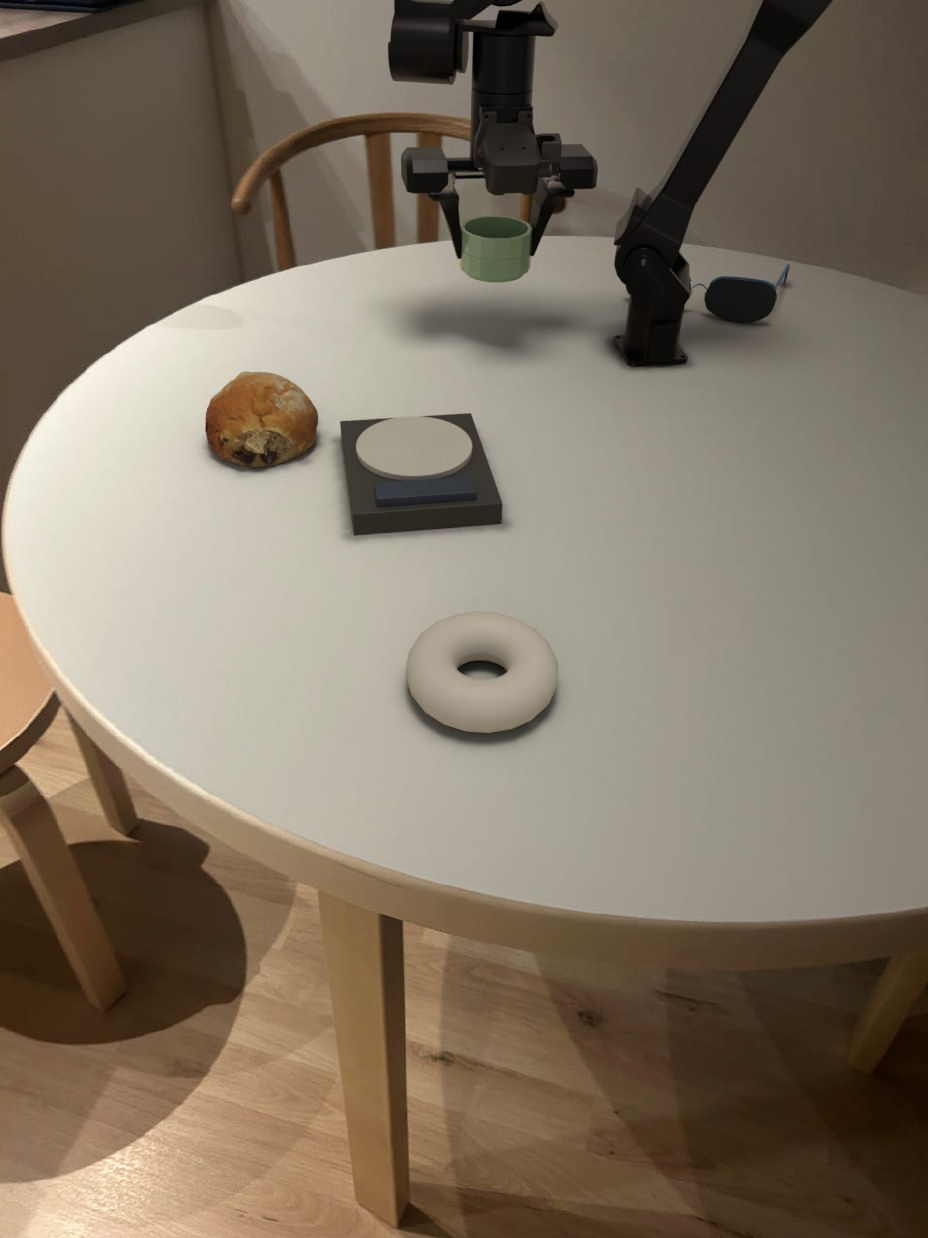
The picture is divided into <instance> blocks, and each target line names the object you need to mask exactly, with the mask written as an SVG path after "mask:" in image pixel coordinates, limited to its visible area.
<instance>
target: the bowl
mask: <svg viewBox="0 0 928 1238" xmlns="http://www.w3.org/2000/svg"><path fill="white" fill-rule="evenodd" d="M460 229H461V240H462V253H461V259H458V265H459V269H460V270H461V271H462V272H464V273H465V275H466V276H468V277H469V278H471V279H473V280H476V281H478V282H479V281H480V282H484V283H508V282H513V281H516V280H519V279H520V278H522V277H523V276H524V275H526V274H527V273H529V270H530V269H531V260H532V256H531V246H532V232H533V228H532V227H531V225H530V222H527V221H525V220H523V219H521V218H518V217H517V218H516V217H512V216H506V215H496V214H495V215H494V214H493V215H480V216H475V217H471V218H468V219H465V220H463V221H462V223H460Z"/></svg>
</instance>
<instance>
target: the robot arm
mask: <svg viewBox="0 0 928 1238" xmlns="http://www.w3.org/2000/svg"><path fill="white" fill-rule="evenodd" d="M522 1H523V0H393V12H394V13H393V16H392V21H391V28H390V35H389V37H390V40H389V41H388V43H387V59H388V68H389V73H390V77H391V79H392V81H393V82H404V83H419V84H436V85H448V86H449V85H450V86H451V85H452V86H453V85H454V84H455V81H456V78H457V73H458V74H465V73H466V72H467V68H468V62H469V61H468V60H469V52H470V37H469V36H470V35H469V33H472V53H471V54H472V55H471V56H472V58H471V90H470V91H471V93H470V95H471V96H470V130H469V131H470V134H469V135H470V137H469V157H467V156H466V157H464V156H463V157H446V155H445V152H444V151H443V149H442V146H417V147H416V146H412V147H411V146H408V147H405V148H404V150H403V152H402V153H401V156H400V177H401V180H402V182H403V185H404V187H405V190H406V193H410V194H414V195H417V194H425V195H426V197H427V200H428V201H431V202H438V204H439V205H440V208H441V210H442V213H443V216H444V218H445V222H446V227H447V230H448V233H449V236H450V240H451V243H452V246H453V247H452V248H453V250H454V253H455V257H456V259H457V260H459V259H461V253H462V240H461V229H460V225H461V220H460V218H461V217H460V209H459V207H460V195H459V193H458V191H457V189H456V187H455V184H456V180H477V179H479V180H481V179H484V181H485V189H486V191H487V192H488V193H490V195H493V196H498V197H499V196H504V195H505V194H506V195H507V194H522V195H524V196H530V195H532V198H531V205H530V216H529V224H530V225H531V227H532V228H533V232H532V246H531V257H534V256H535V255H536V252H537V250H538V247H539V245H540V244H541V240H542V238H543V235H544V233H545V231H546V229H547V226H548V224H549V221H550V219H551V218H552V216H553V214H554V212H555V210H556V209H557V207H559V205H560V203H563V201H564V200H565V199H567V198H570V199H571V198H574V196H575V194H576V191H575V190H593V189H595V188H597V182H598V174H599V173H598V172H599V167H598V161H597V159H595V157H594V156H593V155H592V154H591V153H590V151H589V150H588V149H587V148H586V147H585V146H584V145H583V144H582V143H563V141H562V139H561V135H560V133H558V132H555V133H554V132H553V133H551V132H550V133H549V132H546V133H539V134H538V133H536V132H535V128H534V106H533V91H534V89H533V87H534V72H535V58H536V57H535V56H536V55H535V54H536V39H537V37H545V38H550V37H551V38H552V37H553V36H554V35H555V34H556V32H557V30H558V28H559V23H558V22H557V20H556V19H555V18H554V17H553V16H552V15H551V13H549V11H548V9H547V7H546V4H545V2H544V1H543V0H539V1H538V2H537V4H536V5H535V7H534V8H533V9H532V10H517V9H499V10H498V12H497V15H496V19H474V18H475V17H476V16H478V15H479V14H481V13H482V12H483V11H484V10H486V9H487V8H489V7H490V6H494V7H499V8H501V7H502V8H504V7H511V6H513V5H516V4H518V3H521V2H522ZM832 2H834V0H754V3H753V5H752V8H751V12H750V15H749V17H748V21H747V23H746V27H745V29H744V32H743V34H742V36H741V38H740V39H739V41H738V42H737V45H736V47H735V48H734V50H733V52H732V54H731V56H730V57H729V59H728V61H727V62H726V64H725V66H724V68H723V70H722V71H721V73H720V75H719V77H718V79H717V81H716V82H715V84H714V86H713V88H712V90H711V92H710V93H709V95H708V97H707V98H706V100H705V102H704V104H703V105H702V108H701V110H700V111H699V113H698V115H697V117H696V118H695V120H694V122H693V124H692V126H691V128H690V129H689V131H688V132H687V135H686V137H685V138H684V140H683V142H682V144H681V146H680V147H679V148H678V151H677V153H676V155H675V156H674V158H673V160H672V161H671V163H670V165H669V167H668V169H667V171H666V173H665V175H664V176H663V177H662V179H661V180H660V181H659V183H658V184H656V185H655V187H653V189H652V190H650V192H649V193H646V192H645V191H644V190H643V189H641V188H640V187H636V188H635V191H634V193H633V196H632V199H631V202H630V204H629V207H628V209H627V210H626V212H625V213H624V215H623V216H622V217H620V218H619V219H618V220H617V221H616V227H615V228H616V229H615V234H614V240H613V246H616V248H615V253H614V254H615V255H614V260H613V261H614V263H613V266H614V270H615V274H616V276H617V277H618V279H619V281H620V282H621V283H622V284H623V285H625V287H626V286H628V287H629V289H630V295H629V299H628V306H627V307H628V308H627V315H626V321H625V322H626V323H625V328H624V329H625V330H624V334H619V335H618V334H617V335H614V336H613V338H612V342H613V343H614V344H615V346H616V348H617V349H618V351H619V352H620V354H621V356H622V357H623V358H624V360H625V361H626V363H627V364H628V365H630V366H643V365H646V366H647V365H664V364H681V363H687V362H688V360H689V359H688V358H689V357H688V355H687V354H686V352H685V351H684V350H683V349H682V347H681V346H680V345H679V339H680V335H681V328H682V323H683V317H684V311H685V306H686V304H687V302H688V298H689V296H690V293H691V292H690V283H691V282H690V283H689V276H690V263H689V262H688V261H687V259H686V258H685V257H684V255H683V254H682V253H681V252H680V250H681V248H682V245H683V243H684V240H685V236H686V233H687V231H688V227H689V224H690V221H691V218H692V215H693V212H694V210H695V207H696V205H697V203H698V202H699V200H700V198H701V196H702V195H703V193H704V191H705V190H706V188H707V186H708V184H709V182H710V181H711V179H712V178H713V176H714V175H715V173H716V171H717V169H718V168H719V166H720V164H721V162H722V161H723V159H724V157H725V155H726V154H727V152H728V151H729V149H730V148H731V145H732V144H733V142H734V140H735V138H736V137H737V135H738V133H739V132H740V130H741V128H742V127H743V125H744V123H745V122H746V121H747V118H748V117H749V115H750V113H751V112H752V109H753V108H754V107H755V105H756V102H758V101H759V98H760V96H761V95H762V93H763V91H764V90H765V88H766V87H767V85H768V83H769V81H770V79H771V78H772V76H773V74H774V72H775V71H776V69H777V67H778V66H779V64H780V62H781V61H782V59H784V57H785V56H786V55H787V54H788V52H789V51H790V50H791V49H792V48H793V47H794V46H795V45H796V44H797V43H798V42H799V41H800V40H801V39H802V38H803V37H804V36H805V34H807V33H808V31H809V30H810V29H811V28H812V27H813V26H814V25H815V24H816V22H817V21H818V20H819V18H821V16H822V15H823V13H824V12H825V11H826V10H827V9H828V8H829V6H830V5H831V4H832Z"/></svg>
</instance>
